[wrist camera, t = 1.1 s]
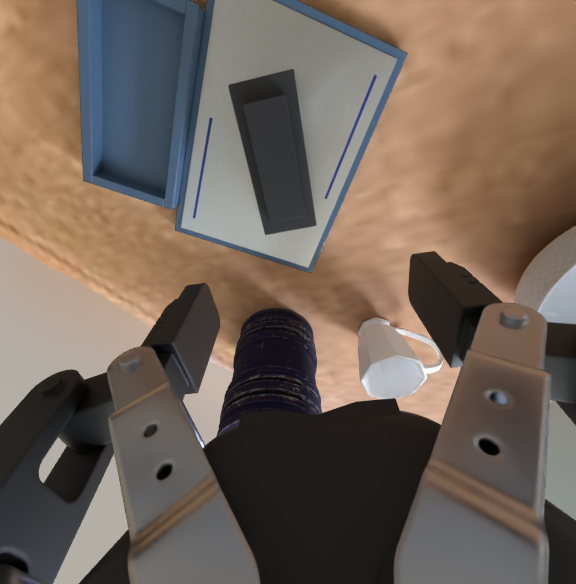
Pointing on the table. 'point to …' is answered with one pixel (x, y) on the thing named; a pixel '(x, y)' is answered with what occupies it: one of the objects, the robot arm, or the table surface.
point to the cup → (391, 360)
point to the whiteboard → (313, 109)
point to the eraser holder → (137, 93)
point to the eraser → (275, 150)
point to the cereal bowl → (552, 281)
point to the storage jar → (272, 368)
